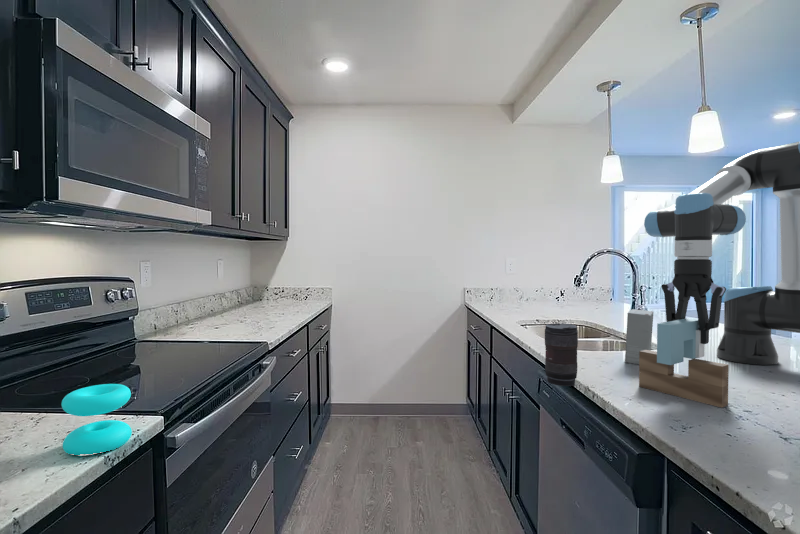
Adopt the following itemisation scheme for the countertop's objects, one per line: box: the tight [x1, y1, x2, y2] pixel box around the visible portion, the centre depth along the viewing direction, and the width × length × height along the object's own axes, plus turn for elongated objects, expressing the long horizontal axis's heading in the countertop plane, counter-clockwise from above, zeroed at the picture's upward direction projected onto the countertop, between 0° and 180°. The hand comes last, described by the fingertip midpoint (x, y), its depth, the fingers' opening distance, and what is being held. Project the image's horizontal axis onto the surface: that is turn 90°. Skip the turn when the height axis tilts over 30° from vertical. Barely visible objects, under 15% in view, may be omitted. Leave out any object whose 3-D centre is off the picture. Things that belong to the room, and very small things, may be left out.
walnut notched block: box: [638, 350, 730, 409], centre depth 102 cm, size 3×18×9 cm, turn 32°
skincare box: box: [624, 309, 654, 365], centre depth 135 cm, size 8×7×16 cm
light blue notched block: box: [656, 317, 699, 366], centre depth 102 cm, size 16×3×9 cm, turn 122°
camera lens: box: [544, 322, 579, 387], centre depth 113 cm, size 8×8×15 cm
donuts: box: [61, 383, 133, 455], centre depth 76 cm, size 10×10×10 cm
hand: (691, 355), depth 105 cm, fingers closed on light blue notched block, 3 cm apart
